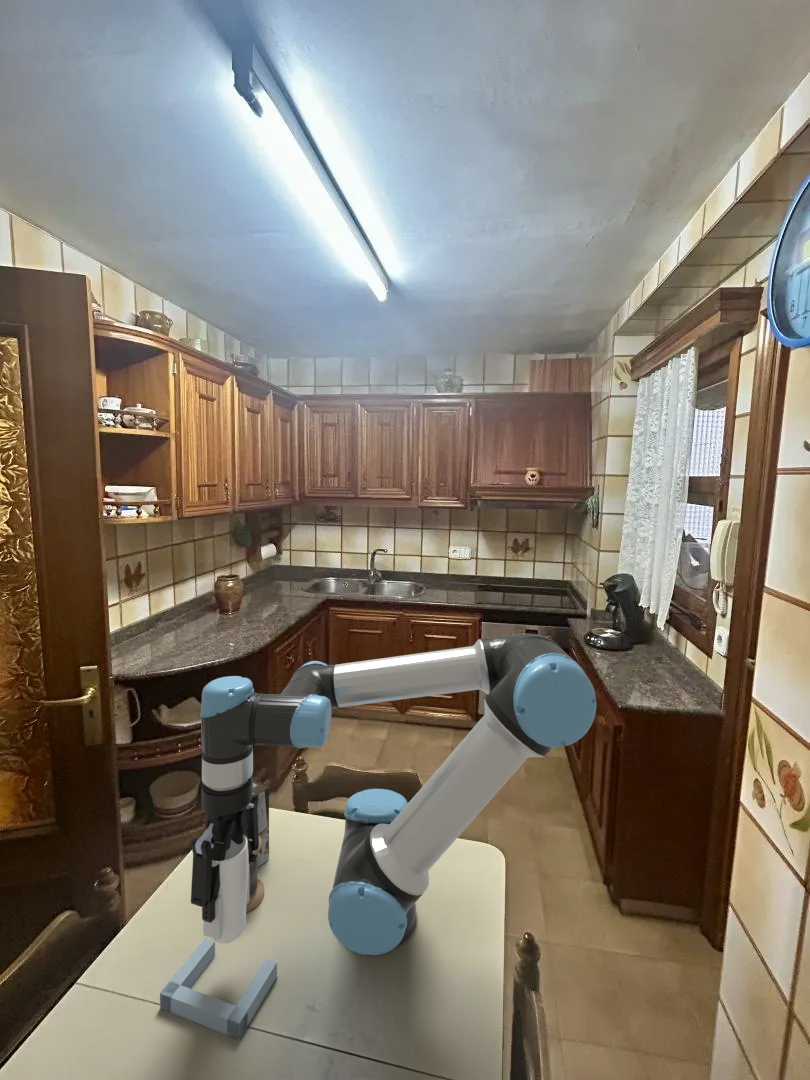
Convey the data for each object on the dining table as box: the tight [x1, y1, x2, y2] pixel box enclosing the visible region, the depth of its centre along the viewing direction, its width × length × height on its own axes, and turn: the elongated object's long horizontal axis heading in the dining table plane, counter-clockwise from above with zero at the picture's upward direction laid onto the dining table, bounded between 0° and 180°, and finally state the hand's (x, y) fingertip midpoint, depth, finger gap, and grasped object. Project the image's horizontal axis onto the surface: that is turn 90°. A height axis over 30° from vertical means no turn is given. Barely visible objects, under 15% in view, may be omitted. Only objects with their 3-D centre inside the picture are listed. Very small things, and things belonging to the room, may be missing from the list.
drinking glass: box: [212, 835, 249, 944], centre depth 78 cm, size 7×7×15 cm
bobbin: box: [246, 836, 265, 914], centre depth 96 cm, size 8×8×11 cm
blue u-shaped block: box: [159, 937, 278, 1041], centre depth 78 cm, size 14×10×2 cm
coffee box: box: [253, 779, 270, 869], centre depth 106 cm, size 9×6×16 cm
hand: (227, 916), depth 79 cm, fingers closed on drinking glass, 6 cm apart
